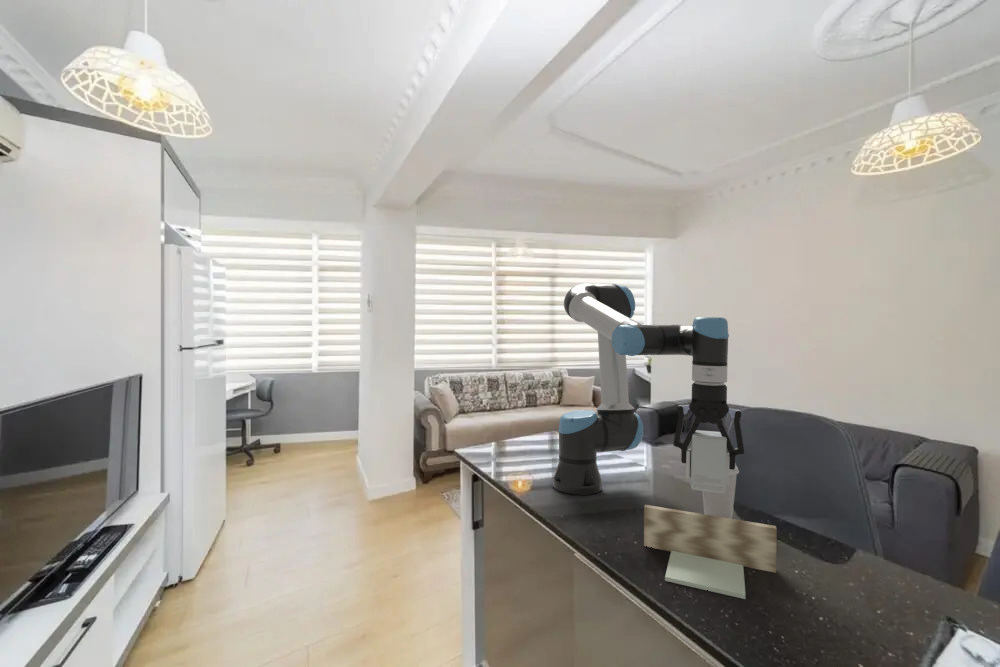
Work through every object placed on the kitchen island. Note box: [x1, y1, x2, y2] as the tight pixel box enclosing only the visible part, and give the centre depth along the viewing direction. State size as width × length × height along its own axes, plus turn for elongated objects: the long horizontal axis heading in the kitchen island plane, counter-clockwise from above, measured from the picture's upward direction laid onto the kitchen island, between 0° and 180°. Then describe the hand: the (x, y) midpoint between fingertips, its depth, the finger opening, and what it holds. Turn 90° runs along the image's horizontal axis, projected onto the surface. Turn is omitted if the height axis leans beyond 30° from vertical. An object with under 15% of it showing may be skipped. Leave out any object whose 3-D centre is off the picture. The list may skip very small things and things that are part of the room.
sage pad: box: [664, 551, 746, 600], centre depth 93 cm, size 14×12×1 cm
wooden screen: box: [643, 504, 778, 573], centre depth 100 cm, size 26×2×9 cm, turn 64°
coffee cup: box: [702, 463, 740, 519], centre depth 121 cm, size 10×10×15 cm
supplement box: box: [689, 429, 728, 494], centre depth 109 cm, size 7×7×13 cm
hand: (707, 479), depth 109 cm, fingers closed on supplement box, 8 cm apart
